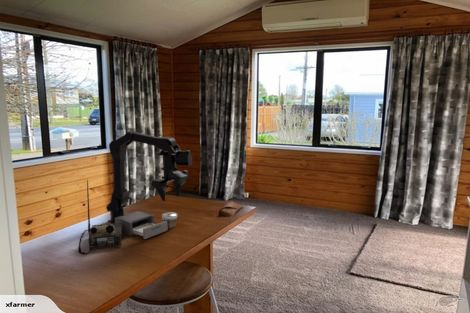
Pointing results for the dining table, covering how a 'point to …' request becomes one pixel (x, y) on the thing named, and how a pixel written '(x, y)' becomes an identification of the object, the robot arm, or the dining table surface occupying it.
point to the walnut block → (171, 223)
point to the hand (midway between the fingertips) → (170, 198)
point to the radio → (102, 234)
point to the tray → (150, 229)
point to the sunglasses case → (230, 209)
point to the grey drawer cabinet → (133, 221)
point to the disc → (169, 216)
